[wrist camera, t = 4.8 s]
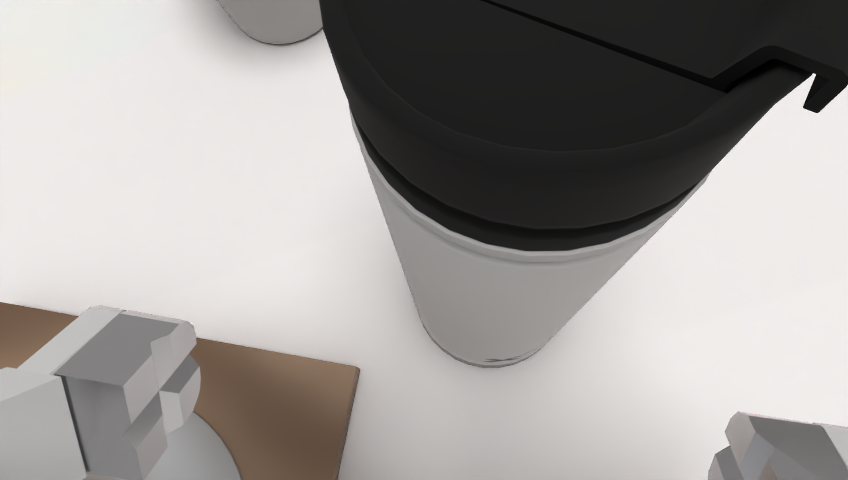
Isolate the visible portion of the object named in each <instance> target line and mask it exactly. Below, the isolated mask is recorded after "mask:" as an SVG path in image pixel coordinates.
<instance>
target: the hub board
mask: <svg viewBox="0 0 848 480" xmlns="http://www.w3.org/2000/svg"><path fill="white" fill-rule="evenodd" d="M78 317H79V316H74V315H68V314H63V313H57V312H52V311H46V310H41V309H35V308H30V307H24V306H19V305H13V304H8V303H2V302H0V369H3V368H6V367H9V368H15V369H17V368H18V367H19V366H20V365H22V364H23V363H24V362H25V361H26V360H28V359H29V358H30V357H31V356H32V355H34V354H35V353H36V352H37V351H38V350H40V349H41V348H42V347H43V346H44V345H46V344H47V343H48V342H49V341H50V340H51V339H53V338H54V337H55V336H56V335H57V334H59V333H60V332H61V331H62V330H63V329H65V328H66V327H67V326H68V325H69V324H71V323H72V322H73V321H74V320H75V319H77V318H78ZM196 342H197V344H196V345H195V346H194V347H193V349H192V350H191V351H190V353H189V354H190V355H191V356H192V358H193V359H194V360H195V361H196V362H197V364H198V365H199V366H200V375H201V382H200V392H199V395H198V398H197V401H196V404H195V406H194V409H193V412H192V413H191V415H190V416H189V417H188V419H187V420H186V422H185V423H184V425H183V426H181V427H179V428H177V429H175V430H173V431H171V432H170V433H168V434H166V438H167V445H168V448H167V449H166V451H165V452H164V453H163V455H162V456H161V458H160V459H159V460H158V462H157V463H156V465H155V466H154V467H153V469H152V470H151V472H150V473H149V474H148V476H147V477H146V479H145V480H337V477H338V473H339V468H340V463H341V458H342V454H343V449H344V444H345V439H346V434H347V430H348V425H349V420H350V415H351V410H352V406H353V401H354V396H355V391H356V386H357V382H358V377H359V372H360V369H359V368H357V367H355V366H349V365H344V364H338V363H333V362H327V361H322V360H316V359H311V358H305V357H300V356H294V355H289V354H283V353H278V352H272V351H267V350H261V349H256V348H250V347H245V346H239V345H234V344H228V343H223V342H217V341H212V340H206V339H201V338H196ZM83 480H125V479H119V478H113V477H107V476H100V475H94V474H88V473H87V477H86V478H84V479H83Z"/></svg>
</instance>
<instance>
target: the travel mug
mask: <svg viewBox="0 0 848 480" xmlns="http://www.w3.org/2000/svg"><path fill="white" fill-rule="evenodd" d="M319 5H320V11H321V18H322V24H323V30H324V33H325V36H326V39H327V42H328V44H329V47H330V50H331V53H332V56H333V59H334V62H335V65H336V68H337V71H338V74H339V77H340V80H341V83H342V86H343V89H344V91H345V94H346V96H347V99H348V103H349V109H350V115H351V120H352V126H353V129H354V132H355V135H356V137H357V140H358V142H359V145H360V148H361V152H362V155H363V157H364V160H365V163H366V166H367V169H368V172H369V174H370V177H371V180H372V183H373V186H374V189H375V191H376V194H377V197H378V200H379V203H380V206H381V208H382V211H383V214H384V217H385V220H386V223H387V225H388V228H389V231H390V234H391V237H392V240H393V242H394V245H395V248H396V251H397V254H398V257H399V259H400V262H401V265H402V268H403V271H404V274H405V276H406V279H407V282H408V285H409V288H410V291H411V293H412V296H413V299H414V302H415V305H416V307H417V310H418V313H419V316H420V318H421V321H422V323H423V326H424V328H425V330H426V331H427V333H428V334H429V336H430V337H431V339H432V340H433V341H434V342H435V343H436V344H437V345H438V346H439V347H440V348H441V349H442V350H443V351H444V352H446V353H447V354H449V355H450V356H452V357H453V358H455V359H457V360H459V361H462V362H464V363H467V364H469V365H474V366H479V367H493V368H499V367H504V366H509V365H513V364H516V363H518V362H521V361H523V360H525V359H527V358H529V357H530V356H532V355H533V354H535V353H536V352H538V351H539V350H540V349H541V348H542V347H543V346H544V345H545V344H546V343H547V342H548V341H549V340H550V339H551V338H552V337H553V336H554V335H555V334H556V333H557V332H558V331H559V330H560V329H561V328H562V327H563V326H564V325H565V324H566V323H567V322H568V321H569V320H570V319H571V318H572V317H573V316H574V315H575V314H576V313H577V312H578V311H579V310H580V309H581V308H582V307H583V306H584V305H585V304H586V303H587V302H588V301H589V300H590V299H591V298H592V297H593V296H594V295H595V294H596V293H597V291H598V290H599V289H600V288H601V287H602V286H603V285H604V284H605V283H606V282H607V281H608V280H609V279H610V278H611V277H612V276H613V275H614V274H615V273H616V272H617V271H618V270H619V269H620V268H621V267H622V266H623V265H624V264H625V263H626V262H627V261H628V260H629V259H630V258H631V257H632V256H633V255H634V254H635V253H636V252H637V251H638V250H639V249H640V248H641V247H642V246H643V245H644V244H645V243H646V242H647V241H648V240H649V239H650V238H651V237H652V236H653V235H654V234H655V233H656V232H657V231H658V230H659V229H660V228H661V227H662V226H663V225H664V224H665V223H666V222H667V221H668V220H669V219H670V218H671V217H672V216H673V215H674V214H675V213H676V212H677V211H678V210H679V209H680V208H681V207H682V206H683V205H684V204H685V202H686V201H687V200H688V199H689V198H690V197H691V196H692V195H693V194H694V193H695V192H696V191H697V190H698V189H699V188H700V187H701V186H702V185H703V183H704V182H705V181H706V179H707V177H708V176H709V174H710V172H711V171H712V169H713V168H714V167H715V166H716V165H717V164H718V163H719V162H720V161H721V160H722V159H723V158H724V157H725V156H726V154H727V153H728V152H729V151H730V150H731V149H732V148H733V147H734V146H735V145H736V144H737V143H738V142H739V141H740V140H741V139H742V138H743V137H744V136H745V134H746V133H747V132H748V131H749V130H750V129H751V128H752V127H753V126H754V125H755V124H756V123H757V122H758V121H759V120H760V119H761V118H762V117H763V116H764V115H765V114H766V113H767V112H768V111H769V110H770V109H771V108H772V107H773V106H774V104H776V103H777V102H778V101H780V100H781V99H782V98H783V97H785V96H786V95H787V94H788V93H790V92H791V91H792V90H793V89H795V88H796V87H797V86H799V85H800V84H801V83H802V82H804V81H805V80H806V79H807V78H809V77H810V76H811V75H812V74H813V73H815V74H816V76H815V79H814V81H813V84H812V86H811V89H810V91H809V94H808V96H807V98H806V101H805V103H804V106H803V108H804V109H807V110H810V111H812V112H815V113H819V112H820V111H821V110H822V109H823V108H824V107H825V106H826V105H827V104H828V103H829V102H830V101H831V100H833V99H834V98H835V97H836V96H837V95H838V94H839V93H840V92H841V91H842V90H843V89H844V88H846V86H847V85H848V0H319Z"/></svg>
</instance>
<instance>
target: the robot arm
mask: <svg viewBox="0 0 848 480" xmlns="http://www.w3.org/2000/svg"><path fill="white" fill-rule="evenodd" d="M196 344H197V342H196V336H195V330H194V326H193V325H192V324H190V323H189V322H188V321H184V320H178V319H173V318H168V317H162V316H157V315H152V314H146V313H141V312H136V311H130V310H129V311H126V310H122V309H117V308H111V307H106V306H100V305H99V306H95V307H90V308H88V309H87V310H86V311H85V312H84V313H83V314H81V315H80V316H79V317H78V318H77V319H75V320H74V321H73V322H72V323H71V324H69V325H68V326H67V327H66V328H65V329H63V330H62V331H61V332H60V333H59V334H57V335H56V336H55V337H54V338H53V339H51V340H50V341H49V342H48V343H47V344H46V345H44V346H43V347H42V348H41V349H40V350H38V351H37V352H36V353H35V354H34V355H32V356H31V357H30V358H29V359H28V360H26V361H25V362H24V363H23V364H22V365H20V366H19V367H18V368H17V369H15V368H9V367H6V368H3V369H0V480H83V479H84V478H86V477H87V473H88V474H94V475H100V476H107V477H113V478H119V479H125V480H145V479H146V477H147V476H148V474H149V473H150V472H151V470H152V469H153V467H154V466H155V465H156V463H157V462H158V460H159V459H160V458H161V456H162V455H163V453H164V452H165V451H166V449H167V448H168V445H167V438H166V434H168V433H170V432H171V431H173V430H175V429H177V428H179V427H181V426H183V425H184V423H185V422H186V420H187V419H188V417H189V416H190V415H191V413H192V412H193V409H194V406H195V404H196V401H197V398H198V395H199V392H200V382H201V375H200V366H199V365H198V364H197V362H196V361H195V360H194V359H193V358H192V356H191V355H190V354H189V353H190V351H191V350H192V349H193V347H194V346H195V345H196ZM725 434H726V436H727V439H728V441H729V444H730V446H728V447H726V448H725V449H723V450H721V451H720V452H718V453H716V454H715V456H714V458H713V461H712V464H711V466H710V469H709V472H708V480H848V427H842V426H835V425H828V424H821V423H808V422H802V421H795V420H789V419H783V418H776V417H770V416H764V415H757V414H751V413H745V412H737V413H736V414H735V415H734V416H733V417H732V418H731V419H730V421H729V423H728V426H727V428H726V430H725Z"/></svg>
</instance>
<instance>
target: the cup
mask: <svg viewBox="0 0 848 480" xmlns="http://www.w3.org/2000/svg"><path fill="white" fill-rule="evenodd" d="M217 1H218V2H219V4H220V5H221V6H222V7H223V8H224V10H225V11H226V12H227V13H228V14H229V16H230V17H231V18H232V19H233V21H234V22H235V23H236V24H237V25H238V27H239V28H240V29H241V30H242V31H244V32H245V33H246V34H247V35H248V36H250V37H252V38H254V39H256V40H259V41H261V42H266V43H272V44H285V43H292V42H296V41H299V40H303V39H305V38H307V37H309V36H311V35H312V34H314V33H316V32H317V31H319V30H320V29H321V28H322V27H323V24H322V18H321V11H320V5H319V0H217Z"/></svg>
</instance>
